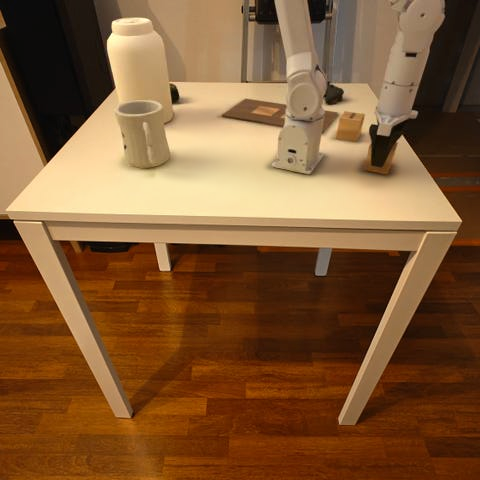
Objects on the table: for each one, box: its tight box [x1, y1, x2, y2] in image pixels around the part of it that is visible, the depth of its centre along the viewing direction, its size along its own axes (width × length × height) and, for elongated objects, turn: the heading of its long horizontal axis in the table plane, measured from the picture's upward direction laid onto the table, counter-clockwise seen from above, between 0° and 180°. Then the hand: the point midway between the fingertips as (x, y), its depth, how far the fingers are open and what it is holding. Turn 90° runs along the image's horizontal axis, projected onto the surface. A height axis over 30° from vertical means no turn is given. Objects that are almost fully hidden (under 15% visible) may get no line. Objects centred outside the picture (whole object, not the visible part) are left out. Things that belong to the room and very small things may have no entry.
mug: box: [114, 100, 171, 169], centre depth 69 cm, size 12×9×10 cm
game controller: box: [325, 80, 345, 105], centre depth 100 cm, size 10×5×6 cm
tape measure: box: [169, 82, 181, 102], centre depth 98 cm, size 7×7×4 cm
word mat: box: [221, 98, 339, 133], centre depth 91 cm, size 14×26×1 cm, turn 64°
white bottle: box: [106, 17, 174, 124], centre depth 83 cm, size 12×12×20 cm
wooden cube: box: [335, 110, 366, 143], centre depth 80 cm, size 4×4×5 cm
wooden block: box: [363, 141, 399, 175], centre depth 69 cm, size 4×4×5 cm
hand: (379, 160), depth 69 cm, fingers closed on wooden block, 4 cm apart
